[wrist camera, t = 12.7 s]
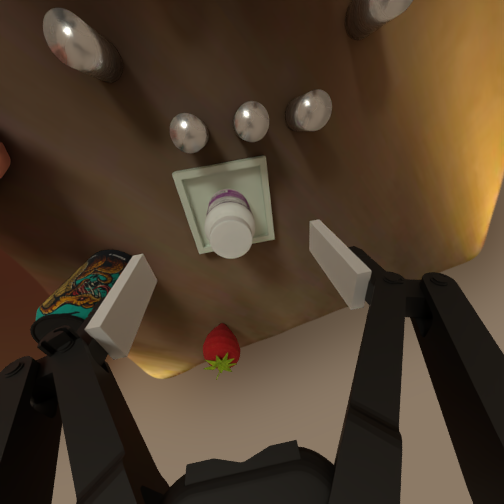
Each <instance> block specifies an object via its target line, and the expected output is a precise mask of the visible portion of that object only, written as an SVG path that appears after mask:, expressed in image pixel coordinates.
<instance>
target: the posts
mask: <svg viewBox="0 0 504 504" xmlns="http://www.w3.org/2000/svg"><path fill="white" fill-rule="evenodd" d="M412 1H413V0H352V1H351V3H350V5H349V7H348V9H347V13H346V18H345V26H346V30H347V33H348V35H349V36H350V37H351V38H352V39H354V40H361V39H363V38H365V37H366V36H368V35H369V34H371V33H372V32H374V31H375V30H377V29H379V28H380V27H382V26H383V25H385V24H386V23H388V22H389V21H391V20H392V19H394V18H395V17H397V16H398V15H400V14H401V13H403V12H404V11H405V10H406V9H407V8H408V7H409V6H410V4H411V3H412ZM43 32H44V36H45V39H46V41H47V44H48V45H49V47H50V49H51V50H52V52H53V53H54V54H55V56H56V57H57V58H58V59H59V60H60V61H62V62H63V63H64V64H66V65H67V66H69V67H72V68H74V69H76V70H79V71H81V72H83V73H86V74H88V75H91V76H93V77H95V78H98V79H100V80H103V81H105V82H115V81H117V80H118V79H119V78H120V77H121V75H122V71H123V64H122V60H121V57H120V54H119V52H118V51H117V49H116V48H115V47H114V45H113V44H112V43H110V42H109V41H108V40H107V39H105V38H104V37H103V36H102V35H100V34H99V33H98V32H97V31H95V30H94V29H93V28H91V27H90V26H89V25H88V24H86V23H85V22H84V21H83V20H81V19H80V18H79V17H78V16H76V15H75V14H74V13H72V12H70V11H68V10H66V9H63V8H53V9H51V10H49V11H48V12H47V13H46V15H45V17H44V20H43ZM331 112H332V102H331V99H330V97H329V95H328V94H327V93H326V92H325V91H323V90H320V89H316V90H312V91H310V92H308V93H306V94H304V95H301V96H299V97H297V98H295V99H293V100H292V101H291V102H290V103H289V104H288V105H287V107H286V110H285V122H286V124H287V126H288V127H289V128H290V129H291V130H293V131H316V130H319V129H321V128H322V127H324V126H325V125H326V123H327V122H328V120H329V118H330V116H331ZM268 128H269V116H268V113H267V111H266V109H265V107H264V106H263V105H262V104H260V103H258V102H256V101H248V102H246V103H244V104H242V105H241V106H240V108H239V109H238V110H237V112H236V113H235V115H234V118H233V129H234V131H235V133H236V135H237V136H238V137H239V138H241V139H243V140H245V141H248V142H256V141H259V140H260V139H262V138H263V137H264V136H265V134H266V133H267V131H268ZM170 136H171V139H172V141H173V143H174V144H175V146H176V147H177V148H178V149H180V150H181V151H183V152H186V153H195V152H198V151H199V150H201V149H202V148H203V147H204V146H205V145H206V144H207V142H208V139H209V131H208V128H207V126H206V124H205V123H204V122H203V121H202V120H201V119H200V118H198V117H196V116H194V115H192V114H189V113H181V114H178V115H177V116H175V117H174V118H173V120H172V122H171V124H170Z"/></svg>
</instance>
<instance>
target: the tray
mask: <svg viewBox="0 0 504 504" xmlns="http://www.w3.org/2000/svg"><path fill="white" fill-rule="evenodd" d="M172 176H173V179H174V182H175V185H176V188H177V190H178V193H179V196H180V199H181V202H182V205H183V208H184V211H185V214H186V217H187V220H188V223H189V225H190V228H191V231H192V234H193V237H194V240H195V243H196V246H197V249H198V252H199V254H202V253H207V252H213V249H212V247H211V245H210V242H209V240H208V239H207V237H206V234H205V230H204V225H205V219H206V214H207V209H208V204H209V201H210V199H211V197H212V196H213V195H214V194H215V193H216V192H218V191H220V190H222V189H234V190H237V191H239V192H240V193H241V194H243V195H244V197H245V198H246V200H247V202H248V204H249V206H250V209H251V212H252V214H253V217H254V220H255V234H254V236H253V238H252V244H253V243H259V242H264V241H269V240H274V239H275V238H274V228H273V219H272V210H271V200H270V191H269V181H268V172H267V163H266V156H264V155H262V156H257V157H251V158H246V159H240V160H235V161H229V162H224V163H219V164H213V165H208V166H202V167H197V168H191V169H186V170H181V171H175V172H174V173H172Z"/></svg>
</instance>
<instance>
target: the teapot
mask: <svg viewBox="0 0 504 504" xmlns="http://www.w3.org/2000/svg"><path fill="white" fill-rule="evenodd" d="M10 163H11V160H10V157H9V154H8V153H7V151H6V148H5V146H4V144H3V143H2V142H1V141H0V179H1V178H2V176H3V175H4V174H5V172H6V171H7V170H8V168H9V166H10Z"/></svg>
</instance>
